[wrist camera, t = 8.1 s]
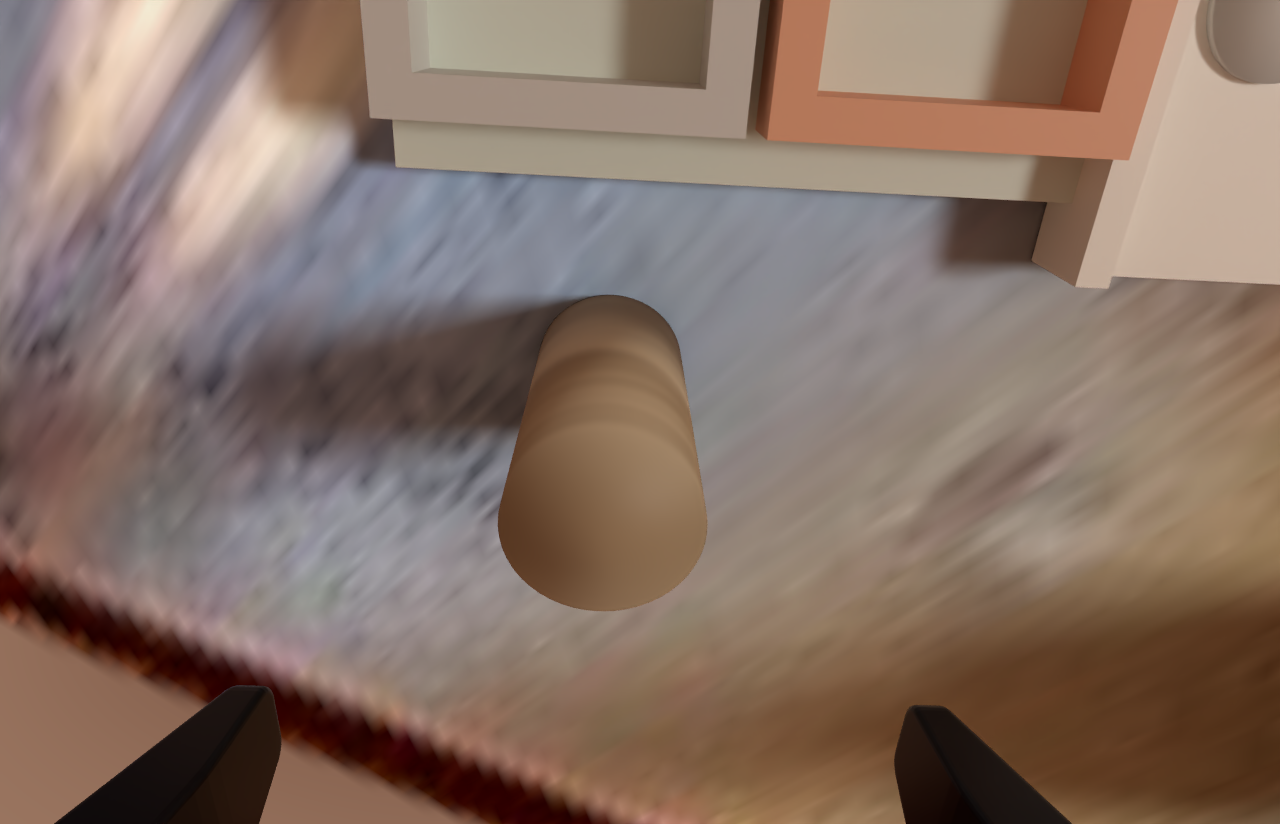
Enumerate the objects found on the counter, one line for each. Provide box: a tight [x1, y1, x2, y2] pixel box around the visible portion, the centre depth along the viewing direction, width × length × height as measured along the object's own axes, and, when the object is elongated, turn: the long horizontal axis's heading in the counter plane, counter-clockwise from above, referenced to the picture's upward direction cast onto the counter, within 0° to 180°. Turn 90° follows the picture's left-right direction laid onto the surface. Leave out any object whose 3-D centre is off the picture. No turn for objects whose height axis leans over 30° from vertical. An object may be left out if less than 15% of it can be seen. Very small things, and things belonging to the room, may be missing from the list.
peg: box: [498, 295, 707, 611], centre depth 16 cm, size 3×3×7 cm
